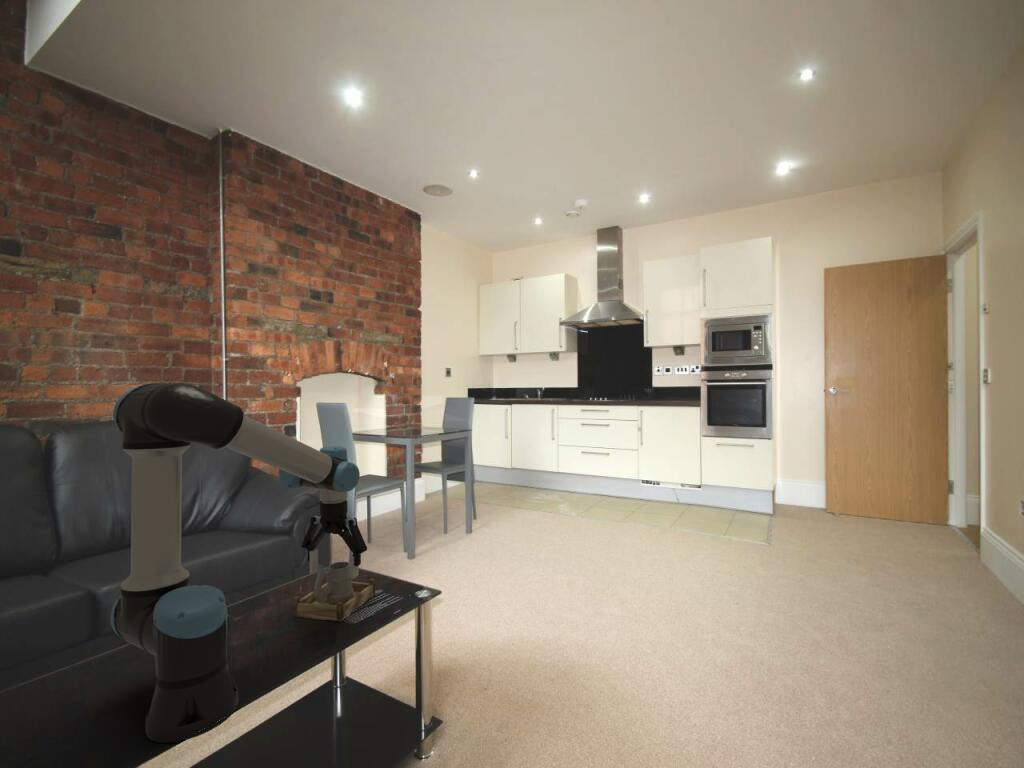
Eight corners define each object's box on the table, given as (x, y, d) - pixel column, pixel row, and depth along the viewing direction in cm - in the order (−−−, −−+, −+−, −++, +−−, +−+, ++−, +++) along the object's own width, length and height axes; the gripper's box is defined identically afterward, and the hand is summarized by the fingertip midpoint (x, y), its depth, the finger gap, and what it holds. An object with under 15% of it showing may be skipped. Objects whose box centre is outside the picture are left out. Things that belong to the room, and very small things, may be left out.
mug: (359, 597, 145) (358, 556, 145) (322, 613, 135) (321, 569, 135) (343, 591, 149) (342, 551, 149) (307, 605, 140) (306, 563, 140)
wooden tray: (340, 622, 132) (340, 603, 132) (293, 616, 136) (293, 598, 136) (375, 595, 148) (374, 578, 148) (332, 590, 152) (332, 574, 152)
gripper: (379, 500, 142) (379, 574, 142) (305, 495, 149) (306, 566, 149) (364, 506, 135) (364, 584, 134) (288, 501, 142) (288, 575, 141)
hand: (334, 574), depth 142 cm, fingers open, 13 cm apart
